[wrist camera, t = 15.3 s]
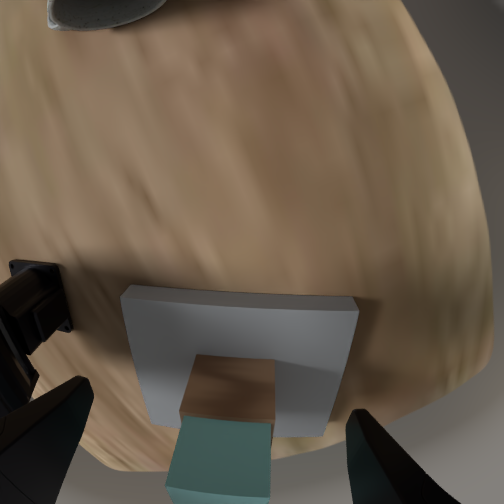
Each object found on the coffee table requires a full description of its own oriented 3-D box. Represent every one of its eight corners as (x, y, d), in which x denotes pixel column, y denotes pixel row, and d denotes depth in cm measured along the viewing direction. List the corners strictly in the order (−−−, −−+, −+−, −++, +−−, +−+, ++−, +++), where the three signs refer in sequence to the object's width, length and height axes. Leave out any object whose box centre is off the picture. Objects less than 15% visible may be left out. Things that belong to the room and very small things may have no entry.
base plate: (157, 409, 26) (151, 423, 24) (130, 284, 21) (119, 297, 19) (320, 420, 25) (322, 436, 23) (352, 296, 20) (359, 310, 18)
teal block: (192, 456, 17) (179, 514, 12) (184, 415, 15) (164, 485, 10) (264, 462, 17) (262, 523, 12) (270, 423, 15) (270, 497, 10)
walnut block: (201, 403, 22) (189, 456, 17) (196, 354, 20) (178, 411, 15) (269, 408, 22) (268, 463, 17) (274, 359, 20) (275, 419, 15)
